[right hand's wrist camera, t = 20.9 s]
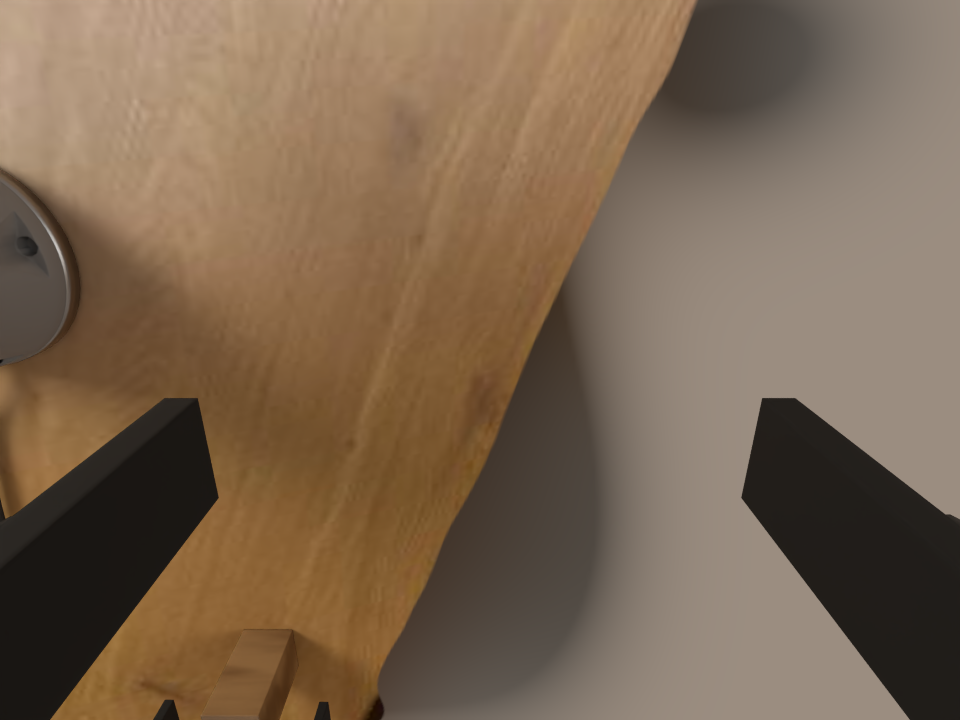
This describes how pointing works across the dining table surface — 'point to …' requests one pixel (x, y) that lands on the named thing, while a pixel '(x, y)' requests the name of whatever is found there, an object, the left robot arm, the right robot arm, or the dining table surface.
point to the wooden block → (255, 678)
